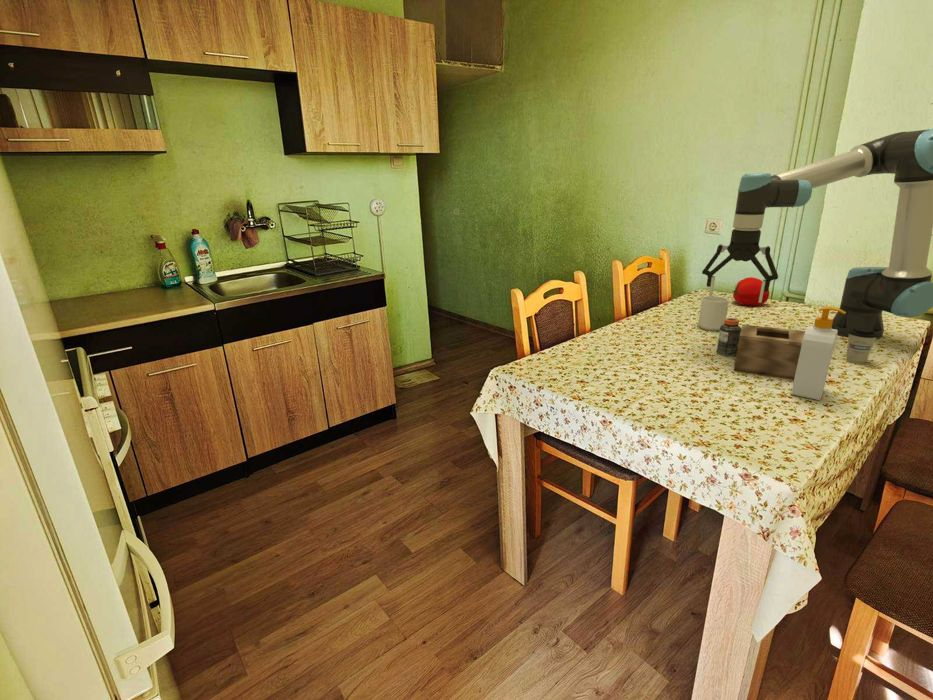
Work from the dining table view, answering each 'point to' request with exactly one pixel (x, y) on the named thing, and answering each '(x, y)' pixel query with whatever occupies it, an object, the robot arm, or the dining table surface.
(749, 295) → the tomato
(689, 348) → the dining table surface
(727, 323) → the pill bottle
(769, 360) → the deposit box
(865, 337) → the coffee cup
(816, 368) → the soap bottle
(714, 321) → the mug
